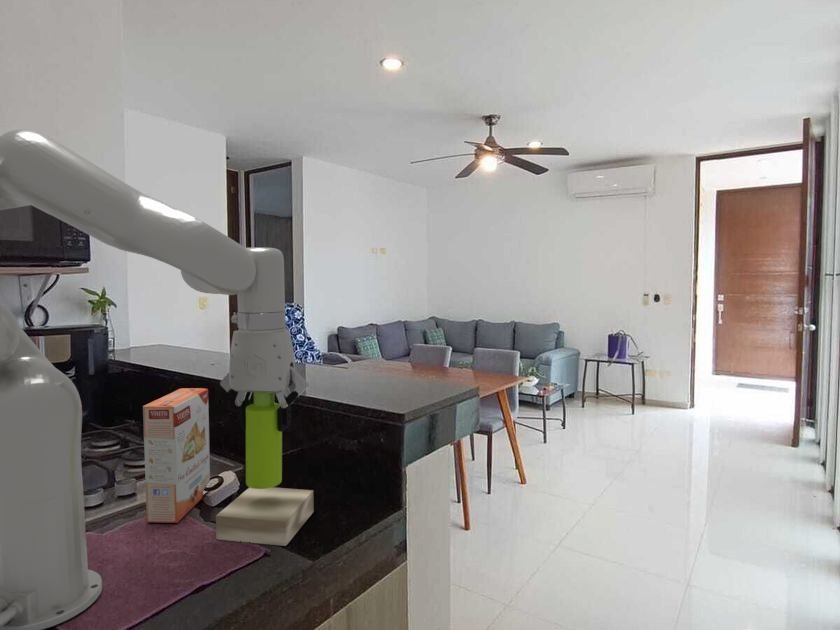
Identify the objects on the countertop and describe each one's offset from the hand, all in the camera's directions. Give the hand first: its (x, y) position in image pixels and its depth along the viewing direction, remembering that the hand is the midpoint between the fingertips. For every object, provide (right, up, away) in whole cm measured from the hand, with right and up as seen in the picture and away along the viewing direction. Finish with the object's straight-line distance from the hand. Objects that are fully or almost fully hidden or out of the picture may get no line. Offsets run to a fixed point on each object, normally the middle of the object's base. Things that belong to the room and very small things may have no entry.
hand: (265, 427), depth 89 cm
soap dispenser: (0, -10, +1) cm, 10 cm away
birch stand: (0, -17, +1) cm, 17 cm away
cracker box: (-18, -17, +9) cm, 26 cm away
